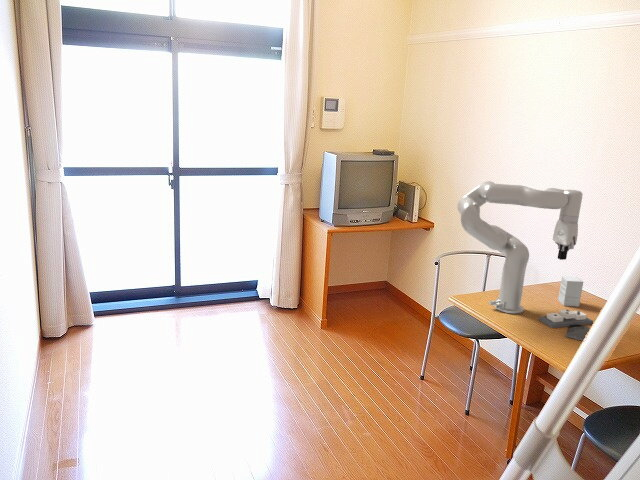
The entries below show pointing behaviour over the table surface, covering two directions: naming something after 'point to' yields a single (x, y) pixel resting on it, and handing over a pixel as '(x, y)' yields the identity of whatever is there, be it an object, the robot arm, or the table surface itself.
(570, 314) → the tile two
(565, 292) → the supplement box
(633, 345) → the table surface
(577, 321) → the button board
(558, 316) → the tile one
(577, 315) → the tile three
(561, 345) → the table surface
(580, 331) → the smartphone
